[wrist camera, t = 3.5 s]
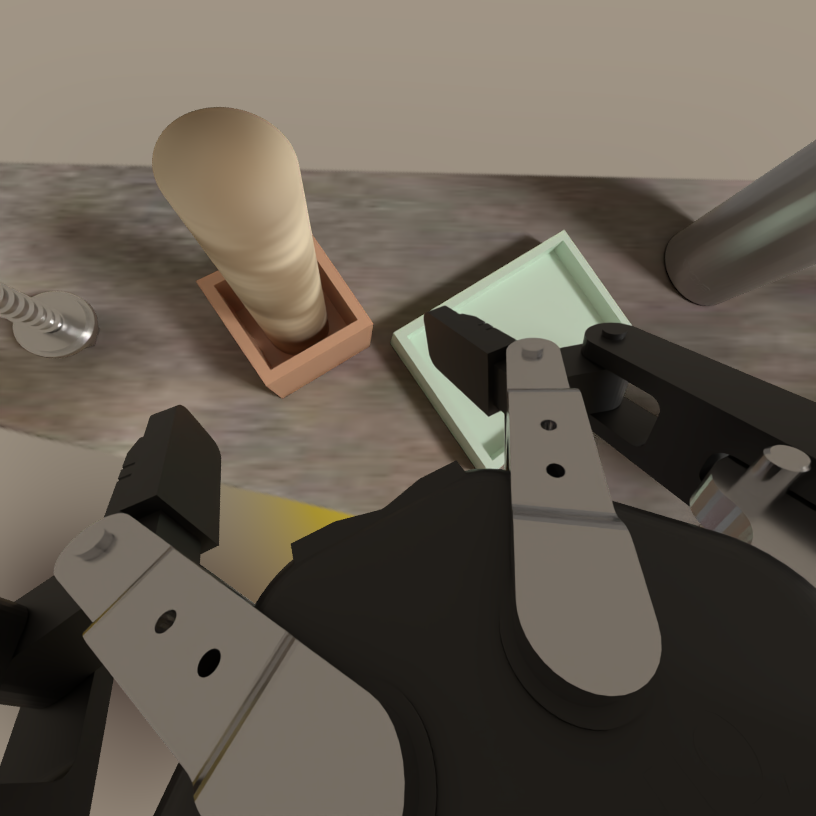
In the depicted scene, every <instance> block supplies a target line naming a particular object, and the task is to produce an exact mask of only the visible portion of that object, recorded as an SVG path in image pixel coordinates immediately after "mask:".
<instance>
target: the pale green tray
mask: <svg viewBox="0 0 816 816" xmlns="http://www.w3.org/2000/svg"><path fill="white" fill-rule="evenodd" d="M444 305H445V306H447V307H449V308H451V309H452V310H454V311H456V312H457V313H459V314H467V315H472V316H476V317H478V318H479V319H481V320H483V321H485V323H488V324H490V325H492V326H493V328H497V329H499V330H500V331H502V332H504V333H506V334H507V335H509V336H511V337H512V338H514V339H516V340H520V339H524V338H542V339H547V340H550V341H552V342H554V343H555V344H557V345H558V347H559V348H562V347H568V346H573V345H578V344H583V339H584V334H585V331H586V330H587V329H588V328H589V327H591V326H593V325H596V324H600V323H609V322H612V323H623V324H627V325H631V324H630V322H629V321H628V319H627V318H626V317H625V315H624V314H623V312H622V311H621V310H620V308H619V307H618V305H617V304H616V302H615V301H614V300H613V298H612V297H611V295H610V294H609V293H608V291H607V290H606V288H605V287H604V285H603V284H602V283H601V281H600V280H599V278H598V277H597V275H596V274H595V273H594V271H593V270H592V268H591V267H590V266H589V264H588V263H587V261H586V260H585V258H584V257H583V256H582V254H581V253H580V251H579V250H578V249H577V247H576V246H575V244H574V243H573V241H572V240H571V239H570V237H569V236H568V234H567V233H566V232H565V230H563V231H561V232H560V233H558V234H556V235H555V236H553V237H551V238H550V239H548V240H547V241H545V242H543V243H542V244H540V245H538V246H537V247H535V248H533V249H532V250H530V251H528V252H527V253H525V254H523V255H522V256H520V257H518V258H517V259H515V260H513V261H512V262H510V263H508V264H507V265H505V266H503V267H502V268H500V269H498V270H497V271H495V272H493V273H492V274H490V275H488V276H487V277H485V278H483V279H482V280H480V281H478V282H477V283H475V284H473V285H472V286H470V287H469V288H467V289H465V290H464V291H462V292H460V293H459V294H457V295H455V296H454V297H452V298H450V299H449V300H447V301H445V302H444V303H442V304H440V305H439V306H437V307H435V308H434V309H436V308H439V307H441V306H444ZM432 310H433V309H432ZM430 311H431V310H430ZM631 326H632V325H631ZM390 344H391V345H392V347H393V348H394V350H395V351H396V353H397V354H398V356H399V357H400V359H401V360H402V362H403V363H404V364H405V366H406V367H407V369H408V370H409V372H410V373H411V375H412V376H413V378H414V379H415V381H416V382H417V383H418V385H419V386H420V388H421V389H422V391H423V392H424V394H425V395H426V397H427V398H428V400H429V401H430V402H431V404H432V405H433V407H434V408H435V410H436V411H437V413H438V414H439V416H440V417H441V418H442V420H443V421H444V423H445V424H446V426H447V427H448V429H449V430H450V432H451V433H452V435H453V436H454V437H455V439H456V440H457V442H458V443H459V445H460V446H461V448H462V449H463V451H464V452H465V454H466V455H467V456H468V458H469V459H470V461H471V462H472V464H473V465H474V467H475V468H476V469H486V468H491V469H499V468H500V467H501V466H503V465H504V413H503V412H502V411H500V412H498V413H496V414H493V415H491V416H489V417H488V416H487V415H486V414H485V413H484V412H483V411H482V410H480V409H479V408H478V407H477V406H476V405H475V404H474V403H473V402H472V401H471V400H470V399H469V398H468V397H467V396H465V395H464V394H463V393H462V392H461V391H460V390H459V389H458V388H457V387H456V386H455V385H454V384H453V383H452V382H450V381H449V380H448V379H447V378H446V377H445V376H444V375H443V374H442V373H441V372H440V371H439V370H438V369H437V368H436V367H435V366H434V365H433V363H432V361H431V359H430V356H429V351H428V345H427V338H426V332H425V325H424V315H422V316H420V317H419V318H417V319H415V320H414V321H412V322H410V323H409V324H407V325H405V326H404V327H402V328H400V329H399V330H397V331H396V332H394V333H393V336H392V339H391V342H390Z"/></svg>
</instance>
